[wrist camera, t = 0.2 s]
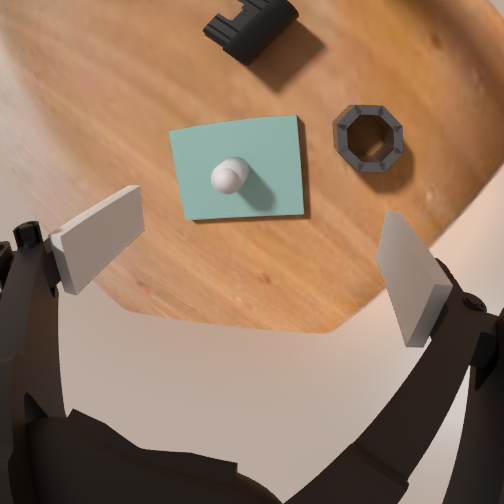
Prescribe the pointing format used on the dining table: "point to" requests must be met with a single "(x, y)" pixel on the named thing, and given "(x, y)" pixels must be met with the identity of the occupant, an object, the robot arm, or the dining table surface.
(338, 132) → the collar
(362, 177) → the dining table surface
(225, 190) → the post stand
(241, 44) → the end cap
